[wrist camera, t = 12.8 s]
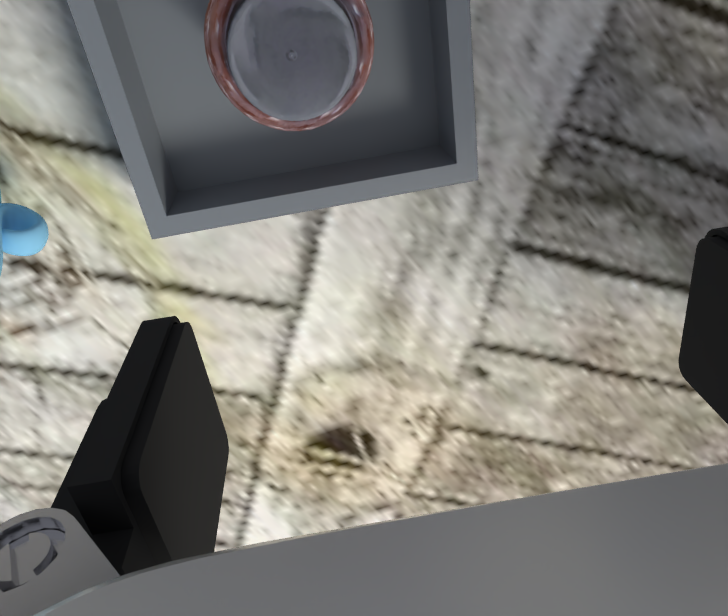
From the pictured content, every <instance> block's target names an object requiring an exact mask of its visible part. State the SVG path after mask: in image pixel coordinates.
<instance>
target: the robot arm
mask: <svg viewBox="0 0 728 616" xmlns="http://www.w3.org/2000/svg"><path fill="white" fill-rule="evenodd" d="M679 368H680V371H681V374H682V376H683V377H684V379H685V380H686V381H687V382H688V383H689V384H690V385H691V386H692V387H693V388H694V389H695V390H696V391H697V392H698V393H699V395H700V396H701V397H702V398H703V399H704V400H705V401H706V402H707V403H708V404H709V405H710V406H711V407H712V408H713V409H714V410H715V411H716V412H717V413H718V414H719V416H720V417H721V418H722V419H723V420H724V421H725V422H726V423H727V424H728V227H723V228H717V229H712V230H710V231H709V232H708V233H707V235H706V236H705V238H703V239H701V240H700V241H699V243H698V245H697V248H696V254H695V260H694V267H693V273H692V279H691V285H690V292H689V298H688V304H687V310H686V317H685V323H684V329H683V335H682V342H681V348H680V354H679ZM228 454H229V446H228V438H227V434H226V431H225V428H224V425H223V422H222V419H221V415H220V412H219V409H218V406H217V403H216V400H215V397H214V394H213V391H212V388H211V385H210V382H209V379H208V375H207V372H206V369H205V366H204V363H203V360H202V357H201V354H200V351H199V348H198V345H197V342H196V339H195V335H194V332H193V329H192V327H191V325H190V323H189V322H184V323H180V321H179V319H178V318H177V317H176V316H172V317H165V318H159V319H153V320H147V321H143V322H142V323H141V325H140V327H139V329H138V332H137V334H136V336H135V338H134V340H133V343H132V345H131V347H130V349H129V351H128V354H127V356H126V358H125V360H124V362H123V365H122V367H121V369H120V371H119V373H118V376H117V378H116V380H115V382H114V384H113V387H112V389H111V391H110V393H109V395H108V398H107V399H105V400H103V401H102V402H101V403H100V405H99V406H98V408H97V410H96V412H95V414H94V416H93V419H92V421H91V423H90V425H89V427H88V429H87V431H86V434H85V436H84V438H83V440H82V442H81V444H80V446H79V448H78V451H77V453H76V455H75V457H74V459H73V461H72V463H71V466H70V468H69V470H68V472H67V474H66V476H65V478H64V481H63V483H62V485H61V487H60V489H59V491H58V493H57V496H56V498H55V500H54V502H53V504H52V506H51V508H44V509H35V510H32V511H29V512H26V513H23V514H20V515H18V516H16V517H14V518H12V519H10V520H8V521H6V522H4V523H2V524H0V616H728V463H726V464H720V465H714V466H708V467H702V468H696V469H690V470H684V471H678V472H672V473H666V474H660V475H654V476H649V477H643V478H637V479H631V480H625V481H619V482H613V483H607V484H601V485H595V486H589V487H583V488H577V489H571V490H565V491H559V492H553V493H547V494H541V495H536V496H530V497H524V498H518V499H512V500H506V501H500V502H494V503H488V504H482V505H476V506H470V507H464V508H458V509H452V510H446V511H440V512H434V513H429V514H423V515H417V516H411V517H405V518H400V519H394V520H388V521H382V522H377V523H371V524H365V525H359V526H354V527H348V528H342V529H336V530H331V531H325V532H319V533H313V534H308V535H302V536H296V537H290V538H285V539H279V540H273V541H267V542H262V543H257V544H252V545H247V546H242V547H237V548H232V549H227V550H223V551H218V552H214V548H215V542H216V535H217V528H218V522H219V515H220V508H221V501H222V495H223V488H224V481H225V475H226V468H227V461H228Z"/></svg>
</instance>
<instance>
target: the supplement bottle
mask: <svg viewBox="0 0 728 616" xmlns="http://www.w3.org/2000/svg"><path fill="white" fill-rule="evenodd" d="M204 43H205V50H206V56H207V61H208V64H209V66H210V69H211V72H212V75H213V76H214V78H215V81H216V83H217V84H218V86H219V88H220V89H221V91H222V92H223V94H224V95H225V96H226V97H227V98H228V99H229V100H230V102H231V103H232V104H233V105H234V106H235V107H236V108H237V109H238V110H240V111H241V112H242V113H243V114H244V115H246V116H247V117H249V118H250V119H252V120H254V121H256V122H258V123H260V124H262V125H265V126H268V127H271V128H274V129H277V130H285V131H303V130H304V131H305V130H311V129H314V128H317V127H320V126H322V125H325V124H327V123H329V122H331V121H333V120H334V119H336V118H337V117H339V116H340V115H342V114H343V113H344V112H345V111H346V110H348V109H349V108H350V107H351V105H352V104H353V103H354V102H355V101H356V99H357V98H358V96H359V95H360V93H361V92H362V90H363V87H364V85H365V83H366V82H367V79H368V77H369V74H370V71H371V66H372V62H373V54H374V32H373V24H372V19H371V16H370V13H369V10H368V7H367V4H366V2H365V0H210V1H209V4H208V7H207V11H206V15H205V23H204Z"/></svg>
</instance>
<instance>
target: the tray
mask: <svg viewBox="0 0 728 616" xmlns="http://www.w3.org/2000/svg"><path fill="white" fill-rule="evenodd" d="M209 1H210V0H67V3H68V6H69V8H70V11H71V14H72V17H73V19H74V22H75V25H76V28H77V31H78V33H79V36H80V39H81V42H82V45H83V47H84V50H85V53H86V56H87V59H88V61H89V64H90V67H91V70H92V73H93V75H94V78H95V81H96V84H97V87H98V89H99V92H100V95H101V98H102V100H103V103H104V106H105V109H106V112H107V114H108V117H109V120H110V123H111V126H112V128H113V131H114V134H115V137H116V140H117V142H118V145H119V148H120V151H121V154H122V156H123V159H124V162H125V165H126V167H127V170H128V173H129V176H130V179H131V181H132V184H133V187H134V190H135V193H136V195H137V198H138V201H139V204H140V207H141V209H142V212H143V215H144V218H145V221H146V223H147V226H148V229H149V232H150V235H151V237H152V239H157V238H162V237H168V236H173V235H179V234H184V233H190V232H195V231H201V230H206V229H212V228H217V227H223V226H228V225H234V224H239V223H245V222H250V221H256V220H261V219H267V218H272V217H278V216H283V215H289V214H294V213H300V212H305V211H311V210H316V209H322V208H327V207H333V206H338V205H344V204H349V203H355V202H360V201H366V200H371V199H377V198H382V197H388V196H393V195H399V194H404V193H410V192H415V191H421V190H426V189H432V188H437V187H443V186H448V185H454V184H459V183H465V182H470V181H476V180H478V162H477V141H476V121H475V100H474V80H473V59H472V39H471V18H470V0H365V2H366V4H367V7H368V10H369V13H370V16H371V19H372V24H373V32H374V54H373V62H372V66H371V71H370V74H369V77H368V79H367V82H366V83H365V85H364V87H363V90H362V92H361V93H360V95H359V96H358V98H357V99H356V101H355V102H354V103H353V104H352V105H351V107H350V108H349V109H348V110H346V111H345V112H344V113H343V114H342V115H340V116H339V117H337V118H336V119H334V120H333V121H331V122H329V123H327V124H325V125H322V126H320V127H317V128H314V129H311V130H305V131H304V130H303V131H285V130H277V129H274V128H271V127H268V126H265V125H262V124H260V123H258V122H256V121H254V120H252V119H250V118H249V117H247V116H246V115H244V114H243V113H242V112H241V111H240V110H238V109H237V108H236V107H235V106H234V105H233V104H232V103H231V102H230V100H229V99H228V98H227V97H226V96H225V95H224V94H223V92H222V91H221V89H220V88H219V86H218V84H217V83H216V81H215V78H214V76H213V75H212V72H211V69H210V66H209V64H208V61H207V56H206V50H205V43H204V23H205V15H206V11H207V7H208V4H209Z"/></svg>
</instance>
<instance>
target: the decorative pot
mask: <svg viewBox="0 0 728 616" xmlns="http://www.w3.org/2000/svg"><path fill="white" fill-rule="evenodd" d="M48 235H49V234H48V227H47V224H46V222H45V220H44V219H43V217H41V216H40V215H39V214H38V213H36V212H34V211H33V210H31V209H29V208H27V207H24V206H21V205H17V204H11V203H2V204H1V191H0V275H1V271H2V263H3V252H5V253H8V254H12V255H17V256H29V255H33V254H36V253H38V252H39V251H40V250H42V249H43V247H44V246H45V244H46V242H47V239H48Z"/></svg>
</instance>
